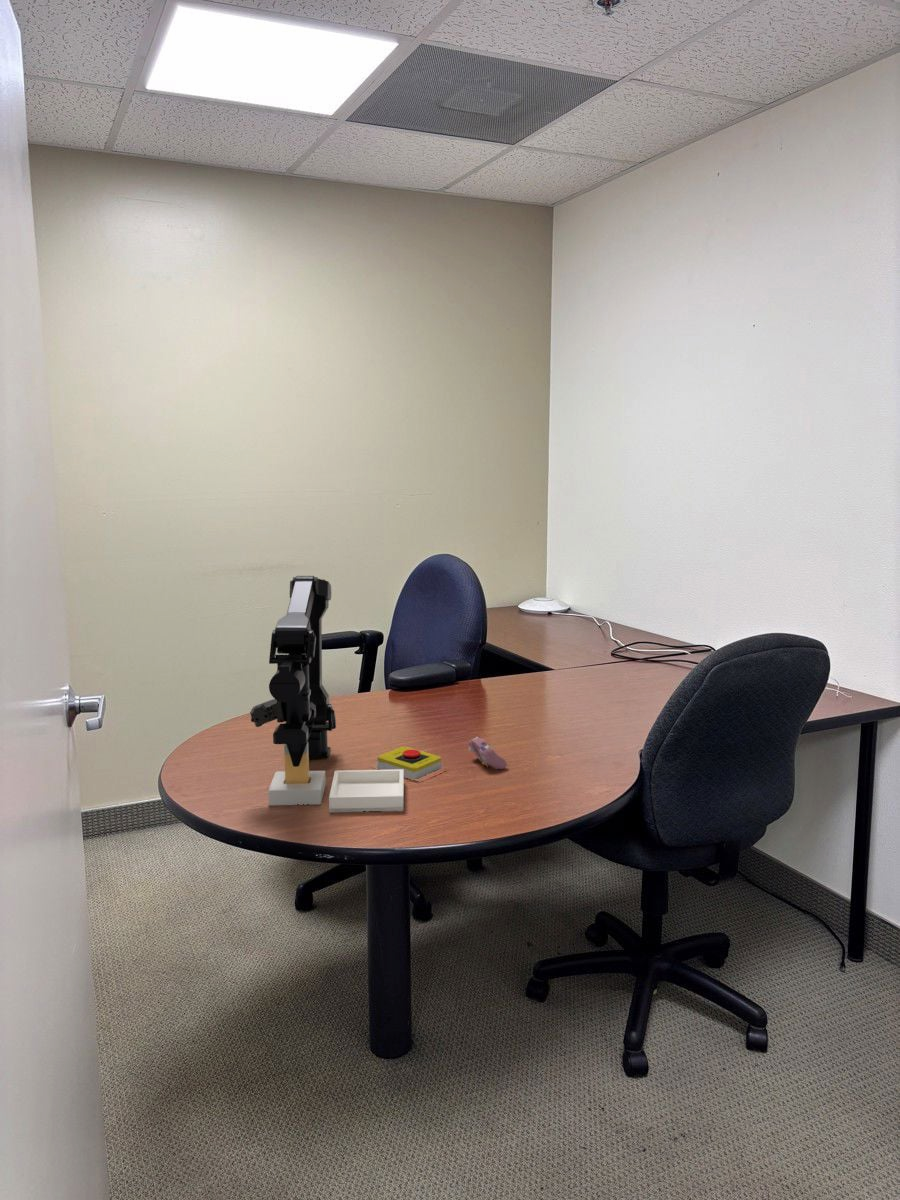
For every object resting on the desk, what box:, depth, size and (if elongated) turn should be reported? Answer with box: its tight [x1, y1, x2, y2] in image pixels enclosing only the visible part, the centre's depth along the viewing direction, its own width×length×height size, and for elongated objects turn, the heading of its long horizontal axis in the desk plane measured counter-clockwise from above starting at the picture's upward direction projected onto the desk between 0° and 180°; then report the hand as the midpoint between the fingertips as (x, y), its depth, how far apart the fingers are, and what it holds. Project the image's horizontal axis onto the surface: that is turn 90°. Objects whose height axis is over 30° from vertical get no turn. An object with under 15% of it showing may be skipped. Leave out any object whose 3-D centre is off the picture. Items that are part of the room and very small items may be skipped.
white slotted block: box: [267, 770, 326, 806], centre depth 175 cm, size 10×10×3 cm
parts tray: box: [328, 769, 405, 814], centre depth 174 cm, size 14×14×3 cm
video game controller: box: [468, 736, 508, 770], centre depth 192 cm, size 10×5×7 cm, turn 21°
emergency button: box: [376, 746, 443, 779], centre depth 189 cm, size 9×4×15 cm
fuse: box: [283, 742, 310, 784], centre depth 174 cm, size 2×4×8 cm, turn 93°
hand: (297, 763), depth 174 cm, fingers closed on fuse, 2 cm apart
